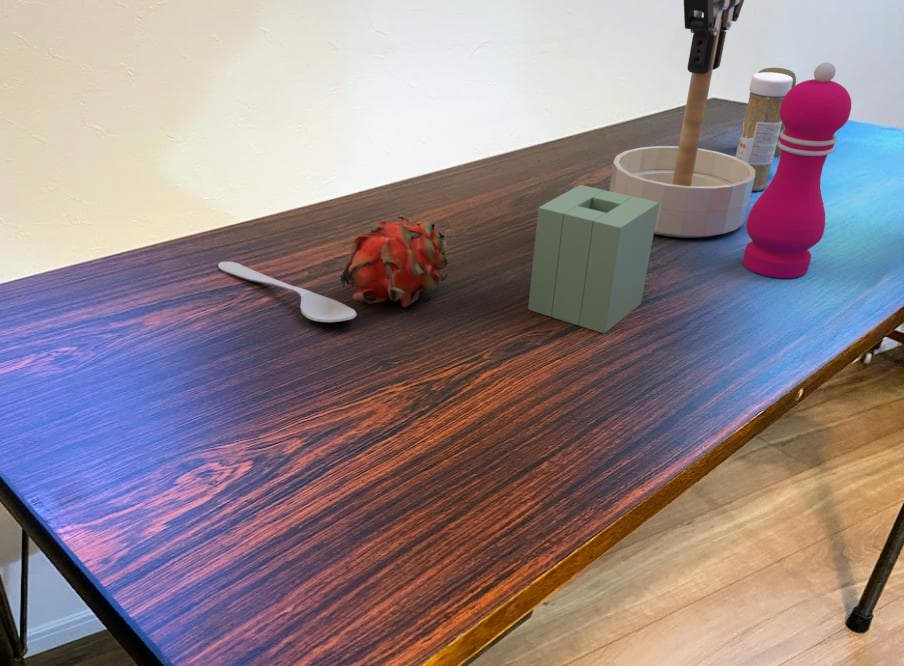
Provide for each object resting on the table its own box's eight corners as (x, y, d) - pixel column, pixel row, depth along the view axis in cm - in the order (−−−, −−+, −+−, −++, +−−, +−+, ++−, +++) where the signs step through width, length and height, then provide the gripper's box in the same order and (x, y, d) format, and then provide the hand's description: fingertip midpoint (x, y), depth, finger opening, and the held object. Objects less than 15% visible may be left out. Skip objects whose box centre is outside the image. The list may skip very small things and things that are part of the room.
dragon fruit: (454, 300, 90) (353, 346, 86) (410, 232, 92) (309, 274, 88) (483, 255, 82) (372, 303, 78) (434, 182, 84) (324, 225, 80)
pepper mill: (807, 286, 89) (868, 74, 78) (731, 272, 92) (779, 66, 81) (816, 260, 94) (873, 59, 83) (743, 248, 97) (790, 51, 86)
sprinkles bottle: (725, 179, 116) (749, 70, 109) (762, 181, 116) (788, 71, 109) (732, 191, 112) (757, 79, 105) (770, 193, 112) (798, 80, 105)
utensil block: (641, 304, 86) (659, 202, 80) (604, 334, 81) (621, 227, 75) (567, 282, 90) (580, 184, 84) (527, 309, 85) (538, 207, 79)
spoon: (334, 339, 80) (334, 323, 79) (204, 269, 93) (203, 254, 92) (369, 325, 82) (369, 308, 81) (237, 258, 95) (236, 243, 94)
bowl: (762, 212, 106) (774, 162, 103) (713, 252, 96) (725, 197, 93) (640, 186, 114) (648, 138, 111) (584, 220, 104) (590, 169, 101)
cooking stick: (689, 207, 103) (725, 18, 92) (682, 212, 101) (717, 21, 91) (672, 204, 104) (705, 16, 93) (665, 208, 102) (698, 19, 92)
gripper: (752, -118, 79) (713, 88, 88) (802, -124, 88) (762, 63, 97) (669, -119, 83) (640, 77, 92) (725, -125, 92) (694, 55, 101)
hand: (703, 69), depth 94 cm, fingers closed on cooking stick, 2 cm apart
